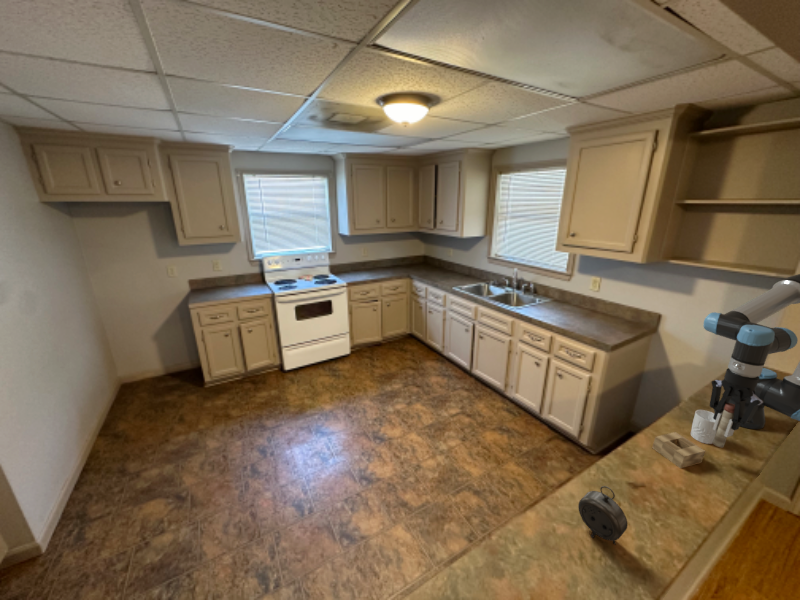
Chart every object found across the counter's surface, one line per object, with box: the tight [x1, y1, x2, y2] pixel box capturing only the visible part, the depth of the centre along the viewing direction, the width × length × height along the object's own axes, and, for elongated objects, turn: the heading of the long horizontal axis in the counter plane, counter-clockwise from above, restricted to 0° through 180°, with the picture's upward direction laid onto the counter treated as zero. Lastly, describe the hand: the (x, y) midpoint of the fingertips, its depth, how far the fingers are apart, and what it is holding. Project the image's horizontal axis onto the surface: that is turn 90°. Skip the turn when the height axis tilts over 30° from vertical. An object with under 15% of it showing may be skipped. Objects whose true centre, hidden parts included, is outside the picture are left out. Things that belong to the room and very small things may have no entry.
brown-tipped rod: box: [712, 403, 735, 448], centre depth 114 cm, size 3×3×16 cm
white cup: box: [690, 409, 717, 445], centre depth 127 cm, size 8×8×10 cm
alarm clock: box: [577, 485, 628, 546], centre depth 89 cm, size 11×5×16 cm, turn 34°
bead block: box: [652, 431, 706, 469], centre depth 119 cm, size 10×10×5 cm
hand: (722, 432), depth 115 cm, fingers closed on brown-tipped rod, 3 cm apart
